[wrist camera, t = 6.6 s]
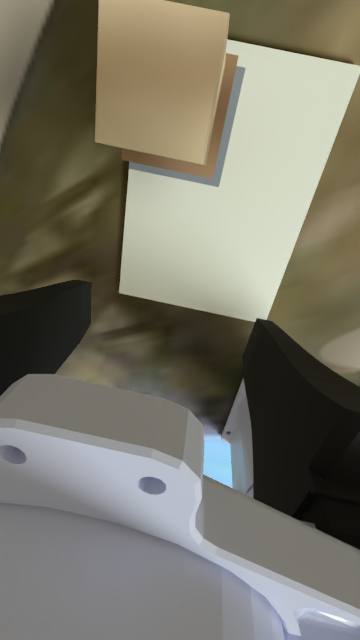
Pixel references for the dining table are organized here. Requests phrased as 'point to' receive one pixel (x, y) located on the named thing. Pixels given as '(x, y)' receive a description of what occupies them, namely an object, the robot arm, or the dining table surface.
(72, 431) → the robot arm
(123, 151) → the walnut base
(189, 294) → the cream flat slab
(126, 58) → the maple pillar
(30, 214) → the dining table surface
